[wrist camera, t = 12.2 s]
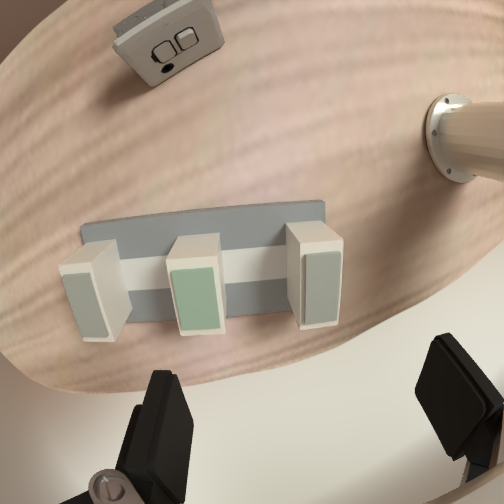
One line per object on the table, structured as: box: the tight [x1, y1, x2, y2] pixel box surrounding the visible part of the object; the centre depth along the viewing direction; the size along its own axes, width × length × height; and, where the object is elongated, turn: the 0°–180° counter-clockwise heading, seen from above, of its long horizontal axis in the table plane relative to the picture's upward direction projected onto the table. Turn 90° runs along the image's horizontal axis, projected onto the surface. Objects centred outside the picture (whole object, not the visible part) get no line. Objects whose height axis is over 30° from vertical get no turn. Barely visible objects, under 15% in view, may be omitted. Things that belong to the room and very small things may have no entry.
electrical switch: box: [112, 0, 225, 87], centre depth 21 cm, size 9×5×9 cm, turn 121°
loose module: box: [166, 232, 226, 336], centre depth 29 cm, size 4×8×8 cm, turn 4°
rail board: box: [80, 200, 325, 322], centre depth 33 cm, size 28×13×2 cm, turn 94°
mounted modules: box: [58, 220, 344, 342], centre depth 29 cm, size 27×9×8 cm, turn 94°
